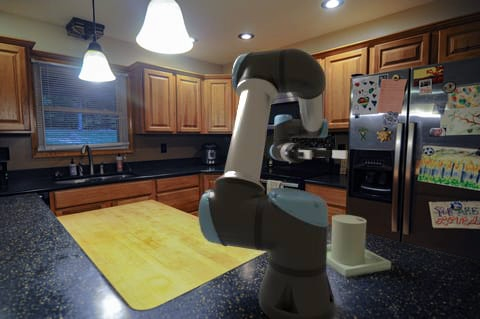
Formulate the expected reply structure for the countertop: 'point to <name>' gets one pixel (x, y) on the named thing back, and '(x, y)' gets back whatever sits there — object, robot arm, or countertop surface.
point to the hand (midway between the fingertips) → (329, 154)
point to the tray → (371, 265)
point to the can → (348, 239)
